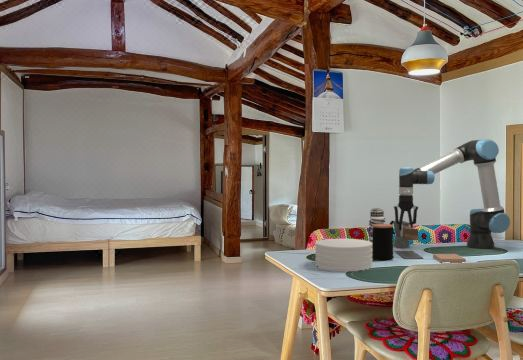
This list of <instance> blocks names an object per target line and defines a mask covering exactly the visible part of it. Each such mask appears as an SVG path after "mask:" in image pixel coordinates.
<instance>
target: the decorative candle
mask: <svg viewBox="0 0 523 360" xmlns="http://www.w3.org/2000/svg"><path fill="white" fill-rule="evenodd" d="M369 212H370V216H369V219H370V220H369V221H368V222H369V223H368V225H369V232H370V237H369V242H371V243H372V247H371V248H372V251H373V236H372V230H373V226H372V225H374V224H384V223H386V218H385V215H384V214H385V211H384V210H383V209H382V208H378V207H377V208H375V207H373V208H371V210H370V211H369Z"/></svg>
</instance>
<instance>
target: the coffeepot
mask: <svg viewBox="0 0 523 360" xmlns="http://www.w3.org/2000/svg"><path fill="white" fill-rule="evenodd" d="M389 224H390V225H393V227H392V229H393V235H395V237H394V240H393V248H395V249H396V248H397V249H408V248H410V240H404V238H403V237H401V236H400V230H399V224H397V223H396V222H395V220H391V221H390V223H389ZM402 225H407V226H408V225H410V223H409V221H404V220H403V221H402Z"/></svg>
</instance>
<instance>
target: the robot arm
mask: <svg viewBox="0 0 523 360" xmlns="http://www.w3.org/2000/svg"><path fill="white" fill-rule="evenodd" d="M499 151H500V150H499V146H498V143H496V142H495V141H494V140H492V139H490V138H488V139H487V138H483V139H474V140H470V141H467V142H466V143H463V144H461V145H459V146H457V147H456V148H454V149H453V151H450V152H449V153H447V154H444V155H443V156H440V157H438V158H436V159H434V160H432V161H430V162H427V163H426V164H423V165H420V166H418V167H417V168H415V169H414V167H404V166H403V167H399V170H398V173H399V174H398V177H399V178H398V179H399V180H398V184H399V185H398V193H399V195H398V204H397V205H394V206H393V209H394V218H395V220H394V221H395V222H396V223H397V224H399V230H400V231H401V237H403V225H402V221H404V214H405V212H406V213H407V218H408V222H409V223H410V225H408V226H409V227H411V228H414V226H413V225H416V224H417V216H418V215H417V214H418V210H419V206H417V205H414V195H413V194H414V185H433V183H434V182H435V174H437V173H440V172H442V171H445V170H447V169H448V168H450V167H453V166H454V165H457V164H459V163H460V164H463V163H466V162H468V161H473V165H474V166H476V167H477V172H478V173H477V174H478V179H479V185H480V186H479V187H480V191H481V192H480V193H481V197H482V203H483V208H473V209H471V210H470V211H469V236H468V238H467V241H466V246H467V247H468V248H473V249H482V250H483V249H487V250H488V249H494V248H495V242H494V239H493V237H492V236H493V235H492V233H493V234H502V233H505V232H506V231H507V230H508V229H509V228H510V225H511V218H510V217H509V216H508V214H507V213H505V208H504V206H501V201H500V194H499V188H498V181H497V178H496V177H497V176H496V171H495V163H496V162H497V159H496V157H497V156H498V155H499ZM497 158H498V157H497ZM398 209H400V214H399V210H398ZM412 209H413V213H412ZM412 215H413V216H412Z"/></svg>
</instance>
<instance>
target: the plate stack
mask: <svg viewBox="0 0 523 360" xmlns="http://www.w3.org/2000/svg"><path fill="white" fill-rule="evenodd" d="M314 246H315V253H314V254H315V264H316V265H315V267H317V266H318V267H320V268H319V269H321V268H323V269H322V270H326V269H327V270H328V271H332V270H333V271H334V272H358V271H359V270H362V271H366V270H365V269H367V270H369V268H370V269H372V268H373V253H372V248H371V247H372V243H371V241H370V240H369V241H368V240H365V239H357V238H326V239H320V240H317V241H315V245H314ZM318 267H317V268H318ZM371 267H372V268H371ZM333 271H332V272H333ZM359 272H360V271H359Z"/></svg>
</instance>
